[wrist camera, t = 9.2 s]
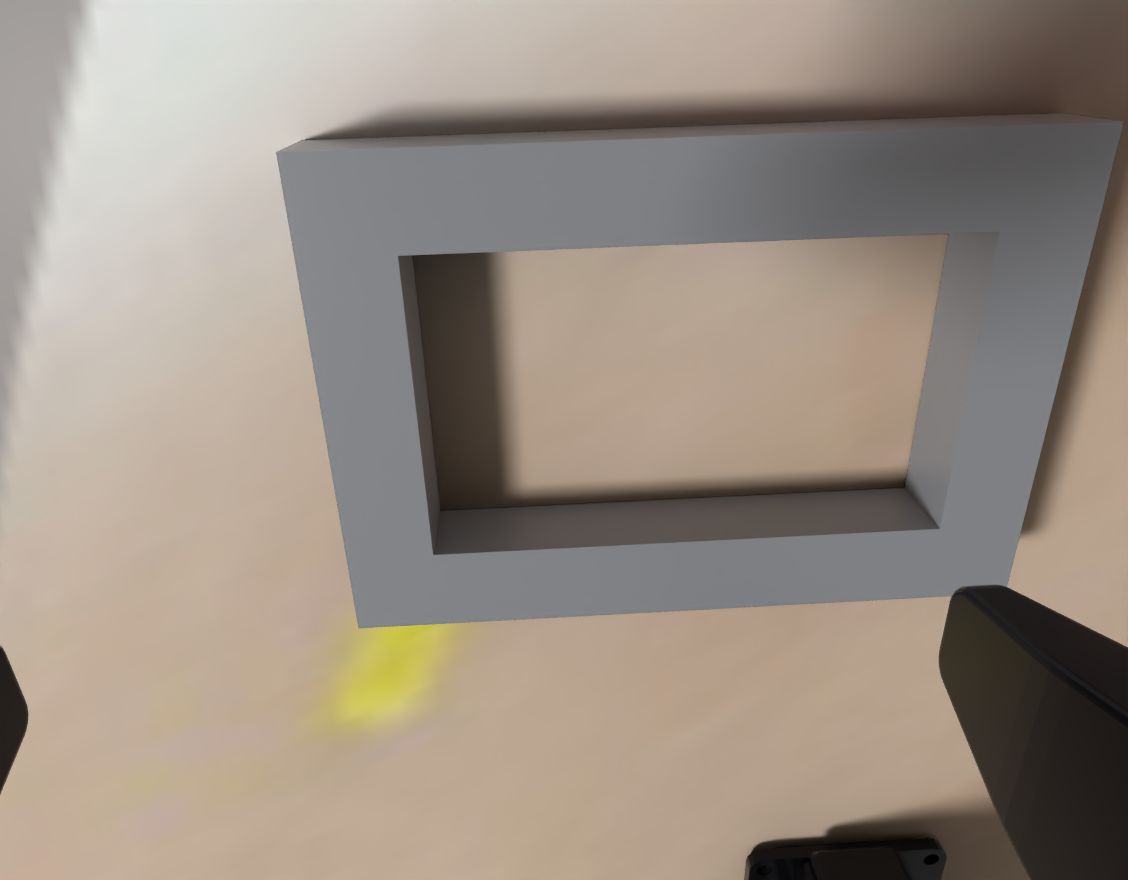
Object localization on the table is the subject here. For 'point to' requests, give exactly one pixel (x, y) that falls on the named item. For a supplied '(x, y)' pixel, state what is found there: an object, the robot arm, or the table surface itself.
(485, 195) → the block
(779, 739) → the table surface
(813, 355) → the table surface
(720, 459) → the table surface
